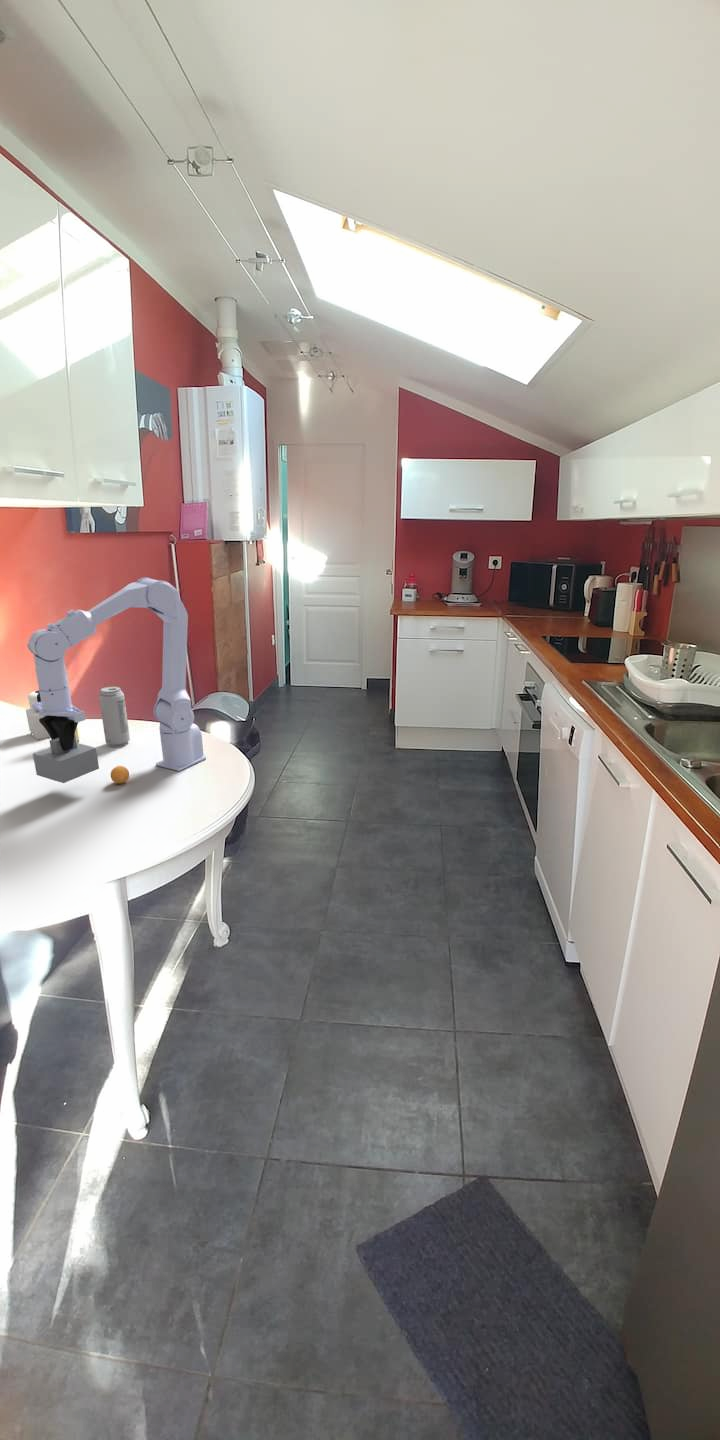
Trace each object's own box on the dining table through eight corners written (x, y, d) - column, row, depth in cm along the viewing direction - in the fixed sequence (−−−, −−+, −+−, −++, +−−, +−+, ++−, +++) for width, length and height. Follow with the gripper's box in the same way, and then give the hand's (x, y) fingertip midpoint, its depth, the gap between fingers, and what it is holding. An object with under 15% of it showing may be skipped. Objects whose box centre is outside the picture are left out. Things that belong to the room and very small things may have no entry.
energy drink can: (111, 740, 180) (103, 685, 175) (133, 739, 180) (126, 685, 175) (102, 748, 174) (94, 692, 169) (125, 747, 174) (118, 692, 169)
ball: (122, 778, 155) (119, 762, 154) (134, 781, 153) (131, 765, 152) (107, 784, 152) (105, 767, 151) (120, 787, 150) (117, 771, 149)
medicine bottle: (56, 727, 190) (49, 686, 186) (64, 734, 185) (57, 692, 181) (29, 733, 186) (22, 691, 182) (37, 740, 181) (29, 697, 177)
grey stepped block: (72, 761, 153) (67, 728, 150) (99, 768, 148) (94, 734, 146) (36, 775, 145) (30, 740, 143) (63, 783, 141) (57, 747, 138)
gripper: (15, 687, 141) (26, 748, 145) (59, 697, 134) (70, 760, 138) (45, 679, 147) (55, 738, 151) (89, 688, 140) (98, 749, 144)
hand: (64, 748), depth 145 cm, fingers closed on grey stepped block
